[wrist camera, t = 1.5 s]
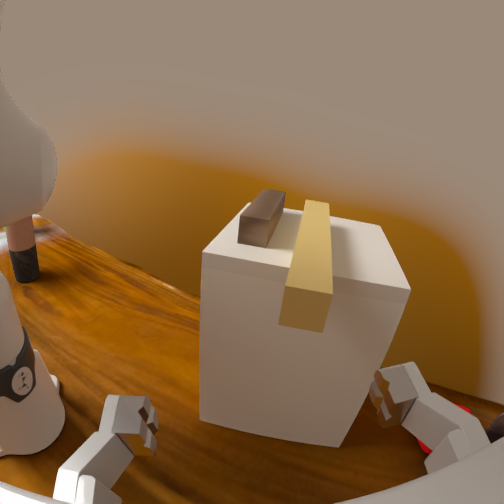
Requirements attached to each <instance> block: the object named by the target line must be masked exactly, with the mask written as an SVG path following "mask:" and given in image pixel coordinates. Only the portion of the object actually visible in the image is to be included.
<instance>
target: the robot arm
mask: <svg viewBox="0 0 504 504" xmlns="http://www.w3.org/2000/svg"><path fill="white" fill-rule="evenodd" d="M4 5H5V0H0V29H1V21H2V15H3V10H4ZM56 175H57V158H56V153H55V149H54V146H53V143H52V141H51V139H50V137H49V135H48V134H47V132H46V131H45V130H44V129H43V127H41V125H39V124H38V123H37V122H36V121H34V120H33V119H31V118H30V117H28V116H27V115H26V114H25V113H24V112H23V111H22V110H20V108H19V107H18V106H17V105H16V104H15V102H14V101H13V100H12V98H11V96H10V95H9V93H8V91H7V89H6V87H5V84H4V82H3V78H2V75H1V71H0V228H3V227H6V226H9V225H11V224H13V223H15V222H18V221H20V220H22V219H24V218H27V217H29V216H31V215H33V214H35V213H38V212H40V211H42V209H43V208H44V207H45V205H46V203H47V202H48V200H49V198H50V196H51V194H52V191H53V188H54V185H55V181H56ZM374 378H375V380H374V381H373V382H372V383H371V385H370V388H369V395H370V400H371V403H372V405H373V406H374V407H375V408H377V409H378V412H377V414H376V416H377V418H378V421H379V424H380V426H381V429H384V428H388V427H391V426H395V425H399V424H401V425H402V426H403V427H404V428H406V429H407V430H408V431H409V432H410V433H412V434H413V435H414V436H415V437H417V438H418V439H419V440H420V441H421V442H423V443H424V444H425V445H426V446H427V447H429V448H430V449H431V450H432V451H433V452H432V453H431V454H430V455H429V456H428V457H427V458H426V459H425V461H424V464H425V466H426V469H427V472H428V474H427V475H425V476H422V477H420V478H417V479H415V480H412V481H409V482H406V483H404V484H401V485H398V486H395V487H392V488H389V489H386V490H383V491H380V492H376V493H373V494H369V495H366V496H362V497H359V498H355V499H351V500H347V501H343V502H339V503H334V504H504V437H502V438H500V439H499V440H497V441H495V442H493V443H492V444H491V443H490V441H489V439H488V437H487V435H486V433H485V431H484V429H483V427H482V425H481V423H480V421H479V420H478V418H476V417H474V416H473V415H471V414H469V413H468V412H466V411H465V410H463V409H461V408H460V407H458V406H456V405H455V404H453V403H451V402H450V401H448V400H446V399H445V398H443V397H442V396H440V395H438V394H437V393H435V392H434V393H431V391H430V389H429V387H428V386H427V384H426V382H425V380H424V378H423V376H422V374H421V373H420V371H419V369H418V367H417V365H416V364H415V363H414V362H413V361H411V362H407V363H404V364H398V365H395V366H391V367H387V368H383V369H379V370H377V371H375V374H374ZM150 403H151V400H150V399H149V397H148V396H125V395H108V396H107V398H106V400H105V404H104V409H103V413H102V417H101V422H100V427H99V431H98V432H94V433H93V434H92V435H91V436H90V437H89V438H88V439H87V440H86V441H85V442H84V443H83V444H82V445H81V447H80V448H79V449H78V450H77V451H76V452H75V453H74V454H73V455H72V456H71V457H70V458H69V459H68V460H67V461H66V462H65V463H64V464H63V465H62V466H61V467H60V468H59V470H58V474H57V479H56V484H55V489H54V494H53V498H49V497H46V496H42V495H39V494H36V493H33V492H30V491H26V490H23V489H21V488H18V487H15V486H12V485H9V484H7V483H4V482H2V481H0V504H122V499H121V498H120V497H119V496H118V495H117V494H115V493H114V492H113V491H111V490H110V489H111V488H112V487H113V485H114V484H115V483H116V481H117V480H118V478H119V477H120V476H121V474H122V473H123V472H124V470H125V469H126V467H127V466H128V465H129V463H130V462H131V461H132V459H133V458H134V455H141V456H156V445H157V440H156V439H155V437H154V436H153V435H154V434H155V433H156V432H157V431H158V416H157V412H156V410H155V408H154V407H152V406H151V405H150ZM64 421H65V409H64V405H63V403H62V401H61V398H60V396H59V381H58V379H57V378H56V377H55V376H53V375H50V374H49V372H48V370H47V368H46V366H45V364H44V362H43V360H42V358H41V356H40V354H39V352H38V351H37V350H34V349H33V347H32V343H31V341H30V339H29V336H28V335H27V332H26V330H25V329H24V327H23V326H22V325H21V323H20V320H19V316H18V313H17V310H16V306H15V303H14V299H13V295H12V292H11V288H10V284H9V282H8V280H7V279H6V277H5V276H4V275H3V273H2V272H1V271H0V457H1V456H4V455H7V454H16V455H27V454H32V453H36V452H39V451H41V450H43V449H45V448H46V447H48V446H49V445H50V444H51V443H52V442H54V440H55V439H56V438H57V437H58V435H59V434H60V432H61V430H62V428H63V425H64Z"/></svg>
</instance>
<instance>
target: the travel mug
mask: <svg viewBox="0 0 504 504" xmlns="http://www.w3.org/2000/svg"><path fill="white" fill-rule="evenodd" d="M5 228H6V235H7V241H8V247H9V252H10V257H11V261H12V265H13V269H14V273H15V277H16V280H17V281H18V282H20V283H28V282H31V281H34V280H36V279H37V278H38V277H39V275H40V272H39V265H38V258H37V251H36V243H35V236H34V229H33V222H32V215H31V216H29V217H27V218H24V219H22V220H20V221H18V222H15V223H13V224H11V225H9V226H6V227H5Z"/></svg>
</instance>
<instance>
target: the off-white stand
mask: <svg viewBox="0 0 504 504" xmlns="http://www.w3.org/2000/svg"><path fill="white" fill-rule="evenodd" d="M250 204H251V203H248V204H247V205H246V206H245V207H244V208H243V209H242V210H241V211H240V212H239V213H238V214H237V215H236V216H235V218H234V219H233V220H232V221H231V222H230V223H229V224H228V225H227V226H226V227H225V228H224V229H223V230H222V231H221V232H220V233H219V234H218V235H217V237H216V238H215V239H214V240H213V241H212V242H211V243H210V244H209V245H208V246H207V247H206V248H205V249H204V250H203V252H202V272H201V273H202V274H201V303H200V359H199V398H200V420H201V421H204V422H208V423H212V424H215V425H219V426H223V427H227V428H231V429H235V430H239V431H244V432H248V433H252V434H257V435H262V436H267V437H272V438H277V439H283V440H288V441H294V442H300V443H307V444H314V445H321V446H329V447H338V448H339V447H340V445H341V443H342V441H343V440H344V438H345V436H346V434H347V433H348V431H349V429H350V427H351V425H352V423H353V422H354V420H355V418H356V416H357V414H358V412H359V410H360V408H361V406H362V404H363V402H364V400H365V398H366V396H367V394H368V392H369V388H370V385H371V383H372V382H373V381H374V380H375V378H374V374H375V371H377V370H379V369H380V367H381V364H382V362H383V360H384V358H385V355H386V353H387V351H388V348H389V346H390V344H391V341H392V339H393V336H394V334H395V331H396V329H397V326H398V324H399V321H400V319H401V316H402V313H403V311H404V308H405V305H406V302H407V300H408V297H409V294H410V291H411V288H410V286H409V284H408V282H407V280H406V278H405V276H404V273H403V271H402V269H401V267H400V265H399V263H398V261H397V259H396V257H395V255H394V253H393V251H392V249H391V247H390V245H389V243H388V241H387V239H386V237H385V235H384V233H383V231H382V229H381V227H380V226H378V225H373V224H368V223H363V222H358V221H353V220H348V219H342V218H337V217H331V216H330V231H331V251H332V278H333V296H332V300H331V304H330V307H329V311H328V315H327V319H326V322H325V326H324V330H323V333H319V332H314V331H308V330H303V329H297V328H292V327H287V326H281V325H278V323H279V317H280V312H281V306H282V300H283V295H284V289H285V284H286V280H287V276H288V272H289V268H290V264H291V260H292V256H293V252H294V248H295V244H296V240H297V236H298V232H299V228H300V224H301V220H302V215H303V211H298V210H292V209H286V208H283V213H282V216H281V218H280V220H279V222H278V224H277V226H276V228H275V230H274V233H273V235H272V237H271V239H270V241H269V243H268V245H267V247H266V248H261V247H255V246H250V245H244V244H238V243H237V240H238V230H239V219H240V215H241V214H242V212H243V211H244V210H245V209H246V208H247V207H248V206H249V205H250Z"/></svg>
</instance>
